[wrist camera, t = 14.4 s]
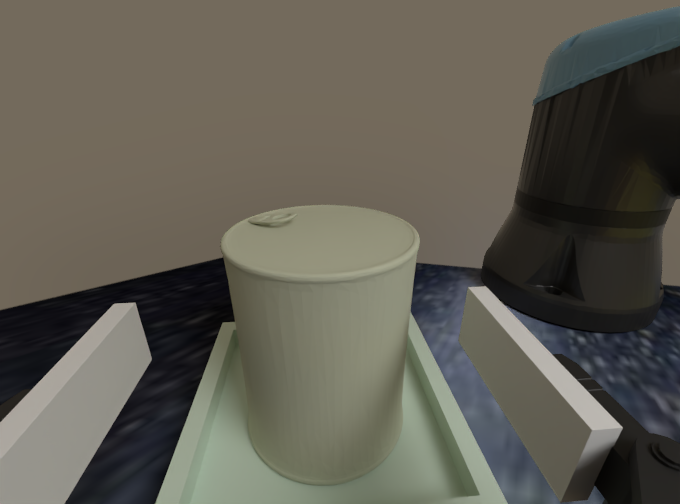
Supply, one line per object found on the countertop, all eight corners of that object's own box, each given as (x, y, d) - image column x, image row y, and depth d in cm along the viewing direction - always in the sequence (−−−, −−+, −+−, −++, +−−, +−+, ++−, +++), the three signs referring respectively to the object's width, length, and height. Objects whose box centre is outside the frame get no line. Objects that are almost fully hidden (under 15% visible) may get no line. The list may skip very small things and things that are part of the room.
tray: (408, 331, 28) (410, 311, 27) (505, 545, 15) (514, 518, 14) (226, 343, 27) (222, 322, 26) (146, 589, 13) (133, 562, 13)
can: (300, 342, 26) (291, 190, 21) (418, 380, 22) (440, 207, 18) (213, 441, 18) (167, 239, 14) (370, 523, 15) (384, 287, 10)
